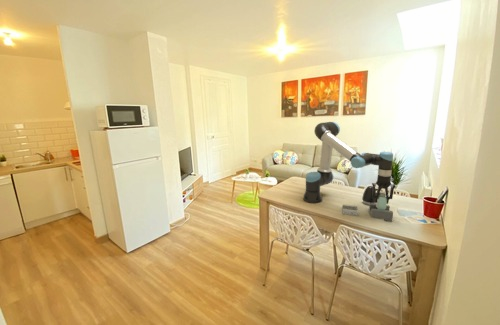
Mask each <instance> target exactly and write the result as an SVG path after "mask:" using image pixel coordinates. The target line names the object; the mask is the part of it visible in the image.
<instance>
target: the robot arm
mask: <svg viewBox="0 0 500 325" xmlns="http://www.w3.org/2000/svg"><path fill="white" fill-rule="evenodd" d="M340 128H341V127H340V126H339V124H338V123H337V122H334V121H325V122H319V123H318V124H316V126H315V127H314V135H315V136H316V138H317V139H319V140H320V141H321V142H322V143H321V150H320V152H321V153H320V159H319V167H318V168H317V171H310V172H309V171H308V172H307V174H306V175H305V191H304V194H303V198H302V199H303V201H304V202H306V203H310V204H319V203H321V202H322V201H323V196H322V193H321V187H322V186H326V185H329V184H330V183H332V182H333V181H334V174H333V171H332V169H331V163H332V158H333V157H332V156H333V149H334V150H335V151H336V152H337V153H339V155H342V156H343V157H344V158H346V159H347V160H348V161H349V162H350V165H351V167H352V168H354V169H361V168H364V167H366V166H367V167H368V166H370V165H373V166H378V167H377V168H378V170H377V177H376V178H377V180H376V181H375V182H371V186H373V191H372V196H373V198H375V203H376V207H377V208H378V203H379V198H378V196H379V193H380V192H381V191H382V189H383V190H385V191H384V193H385V194H386V205H387V204H388V205H389V203H390V202H389V200H393V197H394V190H395V188H396V185H395V184H393V183H391V180H392V171H393V162H394V154H393V152H391V151H381V152H379V153H371V152H370V153H369V152H363V153H359V152H358V151H356V150H355V149H354V148H353V147H351V146H349V145H348V144H347V143H346V142H344V141H342V140H341V139H340V138H339V137H337V136H338V135H339V133H340V131H341V129H340ZM376 187H377V189H378V190H376V196H375V189H376ZM389 187H390V190H389ZM385 209H386V207H385Z"/></svg>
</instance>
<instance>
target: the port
mask: <svg viewBox="0 0 500 325" xmlns="http://www.w3.org/2000/svg"><path fill="white" fill-rule="evenodd" d="M390 208H391V207H390V204H389V203H388V204H387V205H386V209H385V210H380V209H377V207H376V204H374V203H370V204H369V205H368V212H369V215H370V218H372V219H378V220H383V221H386V222H391V223H392V222H393V217H394V211H393V210H390Z"/></svg>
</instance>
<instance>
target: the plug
mask: <svg viewBox="0 0 500 325" xmlns="http://www.w3.org/2000/svg"><path fill="white" fill-rule="evenodd" d="M378 198H379V203H378V208H377V209H380V210H385V207H386V193H385V191H384V192H381V191H380V193H379V196H378Z"/></svg>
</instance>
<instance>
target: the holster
mask: <svg viewBox="0 0 500 325" xmlns="http://www.w3.org/2000/svg"><path fill="white" fill-rule="evenodd" d="M341 211H342V215H348V216H355V217H359V214H360V213H359V212H360V211H359V210H358V205H352V204H342V210H341Z"/></svg>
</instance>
